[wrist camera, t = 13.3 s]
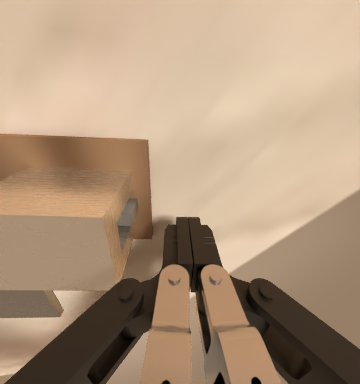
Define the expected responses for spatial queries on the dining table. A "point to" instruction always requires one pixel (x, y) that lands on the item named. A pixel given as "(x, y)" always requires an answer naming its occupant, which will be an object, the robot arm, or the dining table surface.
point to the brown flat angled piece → (29, 304)
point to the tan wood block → (64, 229)
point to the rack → (87, 166)
